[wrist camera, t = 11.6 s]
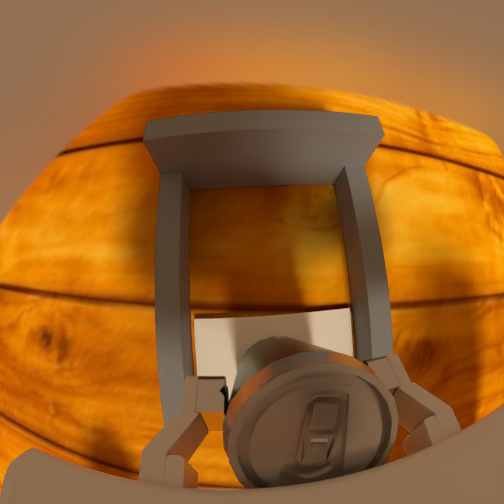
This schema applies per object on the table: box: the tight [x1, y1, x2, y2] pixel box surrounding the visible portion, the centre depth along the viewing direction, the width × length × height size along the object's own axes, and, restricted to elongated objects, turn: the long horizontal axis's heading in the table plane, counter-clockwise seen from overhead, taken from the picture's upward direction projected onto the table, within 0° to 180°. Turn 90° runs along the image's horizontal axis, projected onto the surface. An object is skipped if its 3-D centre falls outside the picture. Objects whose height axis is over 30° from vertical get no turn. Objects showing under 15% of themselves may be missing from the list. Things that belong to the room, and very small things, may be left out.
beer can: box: [223, 336, 399, 489], centre depth 12 cm, size 5×5×12 cm
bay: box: [143, 110, 393, 426], centre depth 16 cm, size 15×20×7 cm
